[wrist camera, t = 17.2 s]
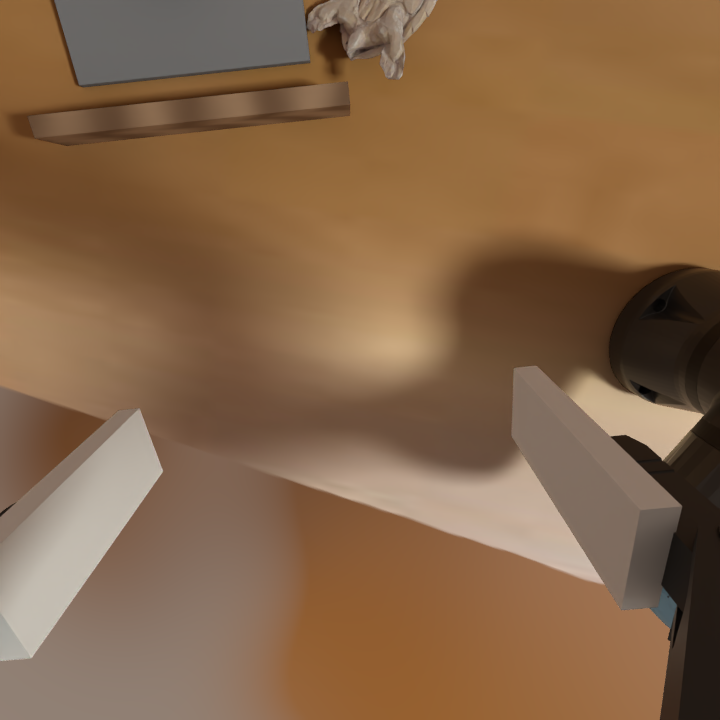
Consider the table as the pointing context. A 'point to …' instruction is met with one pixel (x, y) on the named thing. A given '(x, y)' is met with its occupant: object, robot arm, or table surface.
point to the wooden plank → (193, 114)
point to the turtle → (373, 27)
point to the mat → (180, 37)
